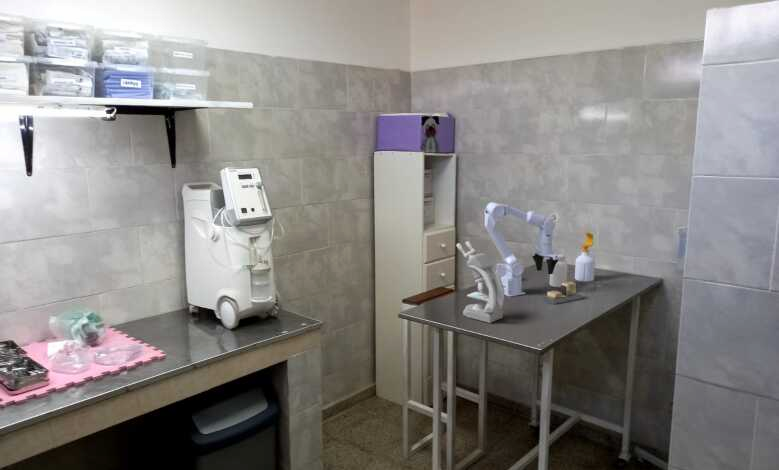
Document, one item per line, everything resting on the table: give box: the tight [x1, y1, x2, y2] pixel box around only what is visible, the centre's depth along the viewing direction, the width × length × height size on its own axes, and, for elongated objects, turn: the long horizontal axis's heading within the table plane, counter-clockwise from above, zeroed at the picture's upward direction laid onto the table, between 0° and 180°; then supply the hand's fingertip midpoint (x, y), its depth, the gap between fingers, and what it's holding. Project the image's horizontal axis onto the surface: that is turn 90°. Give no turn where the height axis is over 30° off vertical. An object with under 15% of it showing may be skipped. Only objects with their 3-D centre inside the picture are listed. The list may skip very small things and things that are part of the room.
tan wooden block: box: [560, 281, 577, 297], centre depth 248 cm, size 5×4×6 cm, turn 116°
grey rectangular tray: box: [542, 292, 583, 305], centre depth 247 cm, size 16×7×2 cm, turn 116°
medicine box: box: [495, 263, 507, 279], centre depth 280 cm, size 8×4×9 cm, turn 84°
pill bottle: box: [549, 253, 568, 288], centre depth 269 cm, size 8×8×15 cm
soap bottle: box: [574, 231, 596, 283], centre depth 278 cm, size 9×9×25 cm
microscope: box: [455, 240, 505, 324], centre depth 225 cm, size 11×19×30 cm, turn 45°
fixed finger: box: [546, 290, 562, 299], centre depth 245 cm, size 4×5×3 cm
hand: (544, 272), depth 259 cm, fingers open, 7 cm apart
